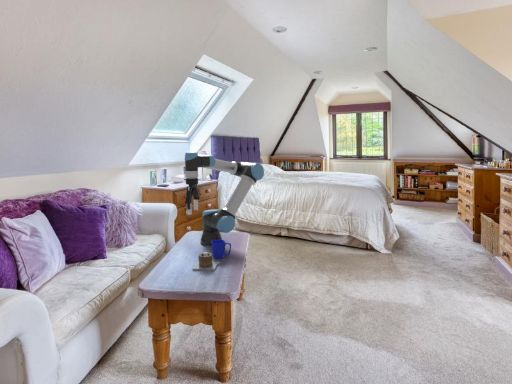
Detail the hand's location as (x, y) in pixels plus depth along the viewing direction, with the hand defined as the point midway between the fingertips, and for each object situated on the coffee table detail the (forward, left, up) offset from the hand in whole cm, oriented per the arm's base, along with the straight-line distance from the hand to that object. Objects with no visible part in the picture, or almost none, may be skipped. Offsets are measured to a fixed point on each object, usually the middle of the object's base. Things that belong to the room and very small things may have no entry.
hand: (192, 212), depth 200 cm
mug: (+4, +18, -27) cm, 33 cm away
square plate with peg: (+20, +13, -27) cm, 36 cm away
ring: (+20, +13, -26) cm, 35 cm away
